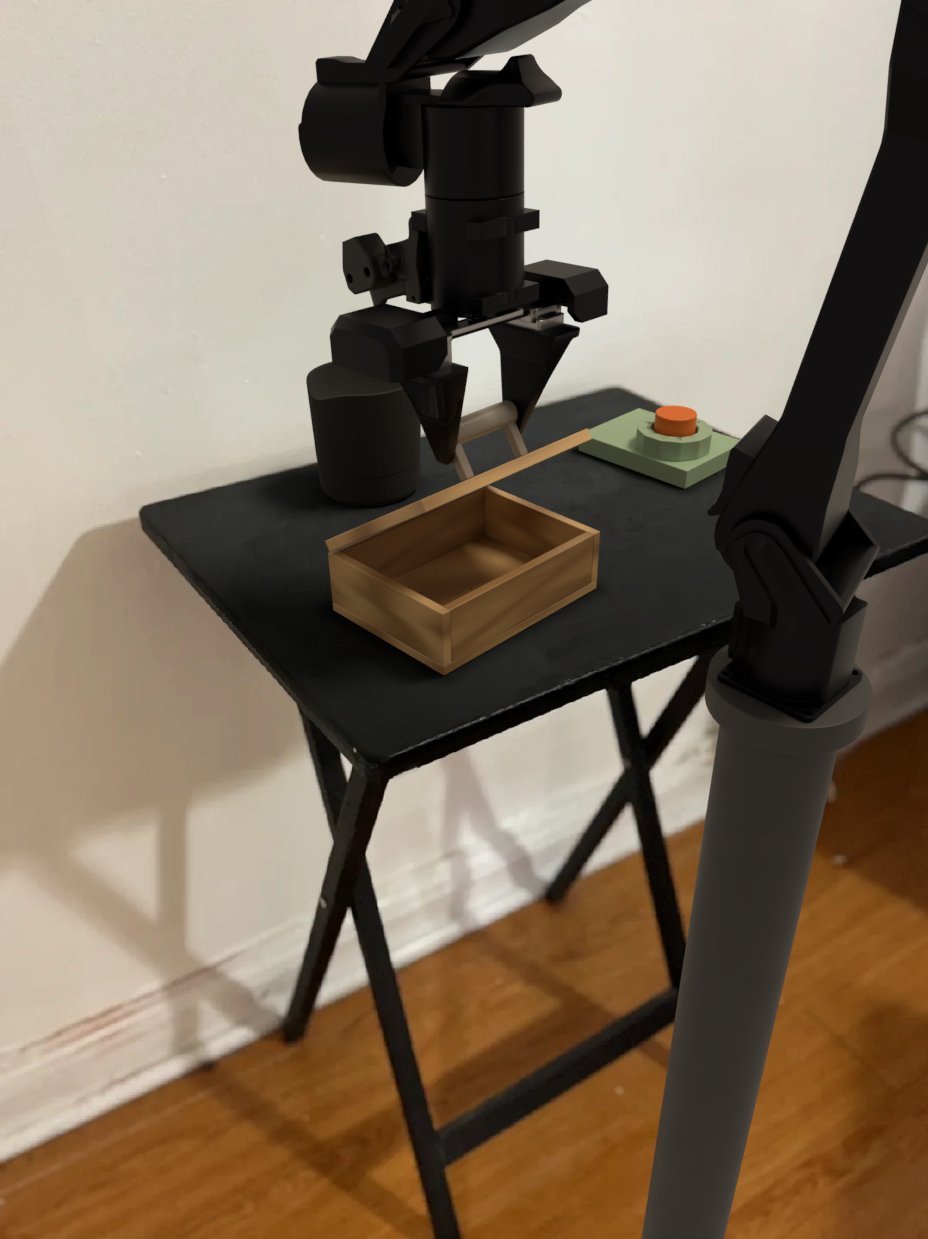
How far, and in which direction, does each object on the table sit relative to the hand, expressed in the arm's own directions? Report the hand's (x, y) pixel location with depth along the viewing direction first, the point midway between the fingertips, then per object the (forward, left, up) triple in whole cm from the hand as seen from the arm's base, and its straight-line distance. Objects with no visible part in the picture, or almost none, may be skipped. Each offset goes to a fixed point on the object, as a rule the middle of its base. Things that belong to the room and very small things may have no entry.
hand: (480, 448), depth 68 cm
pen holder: (+21, -8, -12) cm, 25 cm away
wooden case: (+1, 0, -12) cm, 12 cm away
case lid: (+2, 0, -4) cm, 4 cm away
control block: (+7, -31, -12) cm, 33 cm away
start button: (+5, -30, -9) cm, 31 cm away
